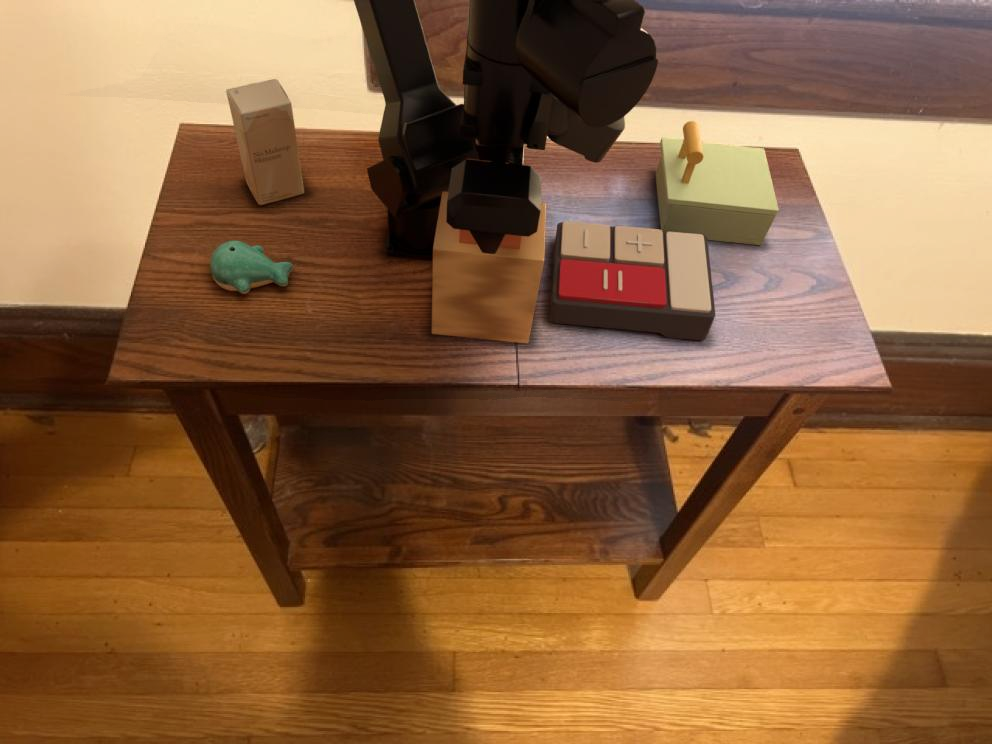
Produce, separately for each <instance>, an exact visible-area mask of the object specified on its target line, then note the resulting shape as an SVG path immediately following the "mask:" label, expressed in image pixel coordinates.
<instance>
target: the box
mask: <svg viewBox="0 0 992 744" xmlns="http://www.w3.org/2000/svg"><path fill="white" fill-rule="evenodd" d="M225 93H226V97H227V101H228V106H229V110H230V115H231V119H232V123H233V128H234V132H235V137H236V141H237V142H236V143H237V146H238V151H239V155H240V160H241V165H242V170H243V174H244V179H245V182H246V184H247V186H248V188H249V191H250V192H251V194H252V196H253V198H254V199H255V201H256V203H257V205H259V206H263V205H267V204H271V203H274V202H279V201H282V200H286V199H290V198H294V197H297V196H300V195H303V194H305V186H304V181H303V173H302V166H301V159H300V153H299V146H298V139H297V133H296V126H295V124H296V123H295V119H294V117H295V116H294V111H293V105H292V101H291V100H290V97H289V96H288V94H287V92H286V91H285V89H284V88H283V86H282V84H281V82H280V81H279V79H276V78H272V79H269V80H268V79H267V80H262V81H259V82H253V83H248V84H244V85H241V86H236V87H231V88H226V90H225Z"/></svg>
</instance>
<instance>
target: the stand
mask: <svg viewBox="0 0 992 744" xmlns="http://www.w3.org/2000/svg"><path fill="white" fill-rule="evenodd" d="M447 198H448V192H442V197H441V203H440V209H439V215H438V221H437V227H436V234H435V240H434V246H433V260H432V281H431V282H432V287H431V288H432V291H431V293H432V294H431V295H432V296H431V334H432V335H441V336H450V337H460V338H467V339H469V338H470V339H480V340H489V341H499V342H508V343H509V342H510V343H518V344H529V341H530V336H531V331H532V326H533V320H534V317H535V316H534V315H535V310H536V304H537V300H538V296H539V295H538V294H539V289H540V284H541V278H542V274H543V268H544V263H545V244H546V243H545V242H546V216H547V202H546V201H545V202H543V201H541V212H540V218H539V224H538V229H537V232H536V233H534V234H532V235H531V236H529V237H526V236H522V239H521V246H520V249H516V248H506V247H499V248H498V250H497V252H496V253H495V254H487V253H483V252H482V251H481V250H480V248H479V246H478V245H477V244H468V243H459V232H460V229H453V228H452V227H451V226H450V225H449V224H448V223H447V222H446V217H447Z"/></svg>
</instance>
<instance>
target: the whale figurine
mask: <svg viewBox="0 0 992 744" xmlns="http://www.w3.org/2000/svg"><path fill="white" fill-rule="evenodd" d="M264 253H265V250H264V247H262V246H261V245H258V244H257V245H253V246H251V245H249V244H248V243H246V242H244V241H241V240H228V241H226V242H223V243H221V244H219V245H218V246H217V247H216V248H215V250H213V252H212V255H211V257H210V262H209V268H210V269H209V270H210V273H211V276H212V278H213V280H214V282H215V283H216V284H217V286H219V287H220V288H222V289H224V290H226V291H230V292H239V293H240V294H243V295H245V294H248V293H249V292H250V291H251V289H254V288H259V287H262V286H265V285H268V284H272V283H275V284H276V285H278V286H279V287H286V286H288V284H289V276H290V273H291V272H293V270H294V265H293V263H292V262H290V261H279V262H275V261H273V260H272V259H271V258H269V257H268V256H266V255H265V254H264Z"/></svg>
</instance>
